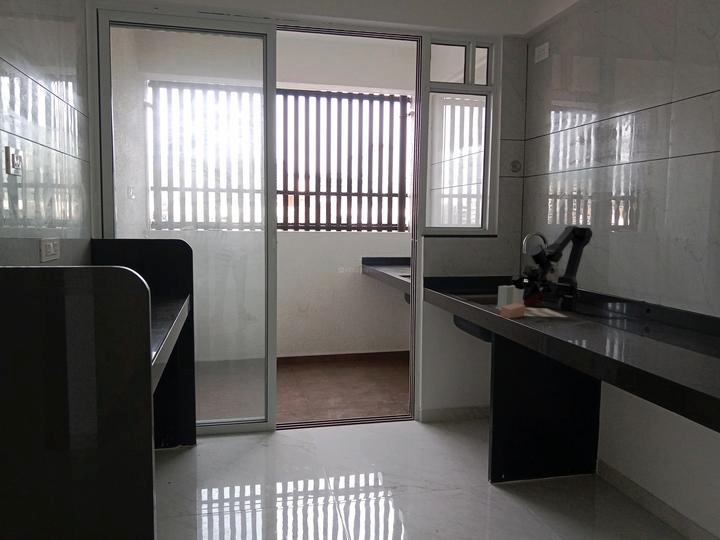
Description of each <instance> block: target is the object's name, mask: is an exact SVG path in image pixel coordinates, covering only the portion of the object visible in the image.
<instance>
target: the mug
mask: <svg viewBox="0 0 720 540" xmlns="http://www.w3.org/2000/svg"><path fill="white" fill-rule="evenodd" d="M540 295H541V300H539V301H538V299H539V296H540ZM544 301H545V294H544V293H543V292H542V291H541V293H539V294H536V295H534V296H532V297H530V298H529V299H527V300H524V304H523V305H525V307H535V306H536V305H537V304H541V303H543V302H544Z"/></svg>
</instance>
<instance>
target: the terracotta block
mask: <svg viewBox="0 0 720 540" xmlns="http://www.w3.org/2000/svg"><path fill="white" fill-rule="evenodd" d="M525 308H526V306H525V305H522V304H518V303H513V304H510V305H506V306H502V307H501V310H500V315H499V316H500V317H502V318H507V319H513V318H519V317H520V318H521V317H525V316H524V313H525Z"/></svg>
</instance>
